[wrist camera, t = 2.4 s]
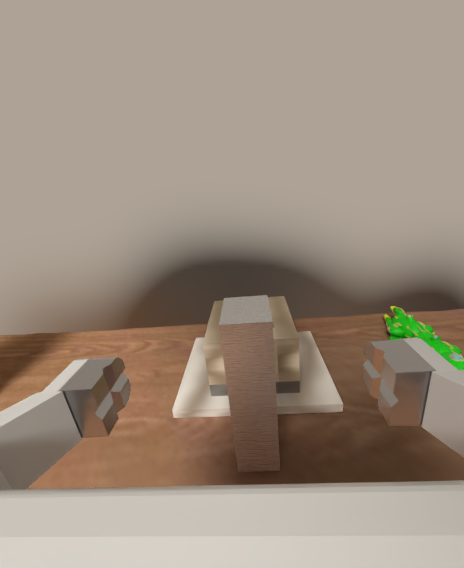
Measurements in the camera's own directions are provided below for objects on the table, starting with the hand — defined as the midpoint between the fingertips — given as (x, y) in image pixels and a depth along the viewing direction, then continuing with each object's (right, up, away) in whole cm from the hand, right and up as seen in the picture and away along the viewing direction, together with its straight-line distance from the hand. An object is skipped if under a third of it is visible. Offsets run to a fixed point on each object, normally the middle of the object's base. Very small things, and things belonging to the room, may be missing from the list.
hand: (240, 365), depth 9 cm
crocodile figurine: (+28, -8, +30) cm, 42 cm away
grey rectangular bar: (+2, -14, +18) cm, 23 cm away
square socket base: (+3, -10, +29) cm, 31 cm away
